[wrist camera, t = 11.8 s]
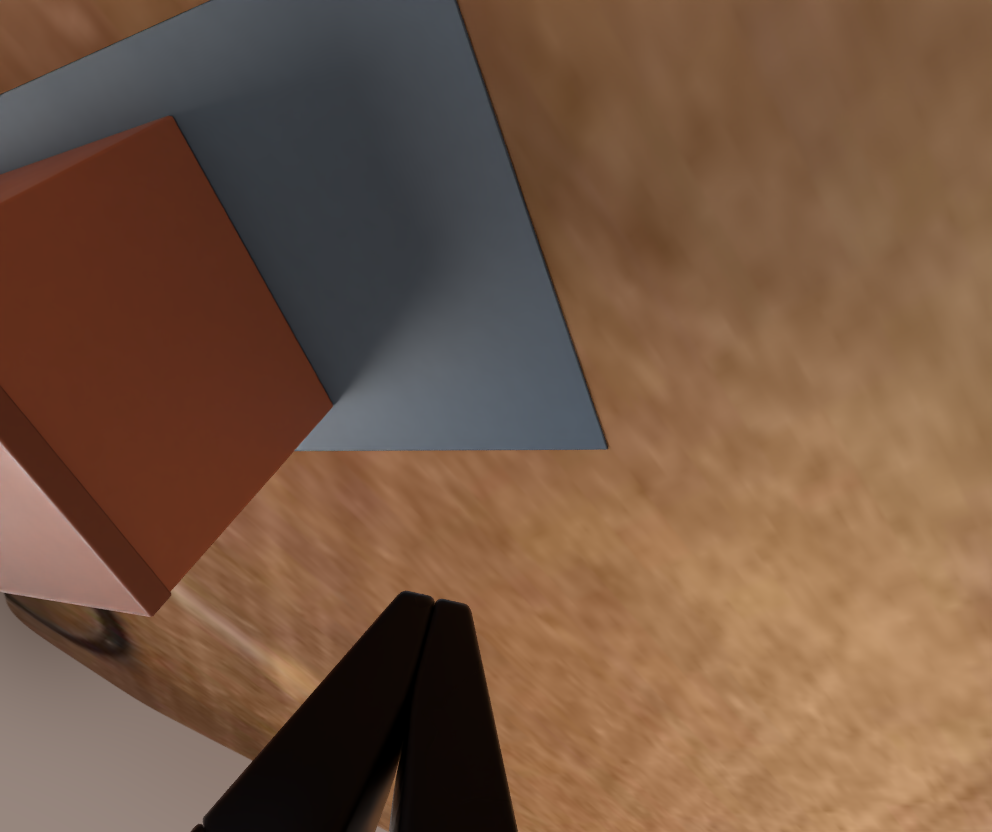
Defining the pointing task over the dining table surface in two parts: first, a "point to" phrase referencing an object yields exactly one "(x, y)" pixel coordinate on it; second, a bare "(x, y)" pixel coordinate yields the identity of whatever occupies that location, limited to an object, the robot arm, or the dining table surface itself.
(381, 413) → the mat
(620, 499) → the dining table surface
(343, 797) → the robot arm
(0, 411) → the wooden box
